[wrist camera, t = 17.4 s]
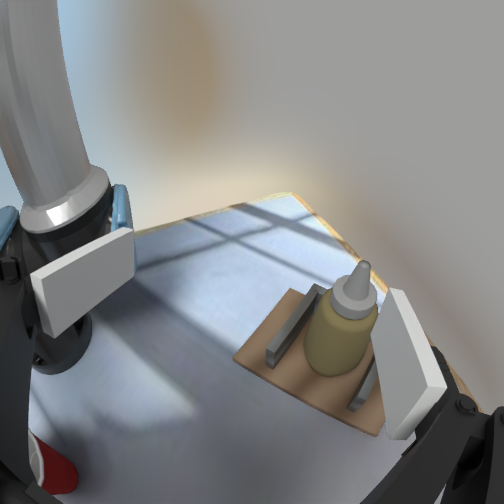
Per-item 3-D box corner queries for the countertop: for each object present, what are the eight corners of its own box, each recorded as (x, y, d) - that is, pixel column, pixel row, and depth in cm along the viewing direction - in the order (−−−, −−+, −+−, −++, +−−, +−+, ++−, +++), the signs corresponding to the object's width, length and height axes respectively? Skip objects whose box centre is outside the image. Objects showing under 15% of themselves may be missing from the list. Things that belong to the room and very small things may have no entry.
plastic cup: (57, 519, 17) (-3, 511, 9) (25, 457, 23) (-31, 430, 15) (110, 495, 22) (55, 485, 14) (72, 430, 28) (19, 398, 20)
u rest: (233, 360, 38) (229, 339, 34) (289, 291, 47) (292, 265, 43) (374, 437, 29) (393, 425, 24) (411, 349, 37) (428, 328, 33)
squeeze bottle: (327, 324, 41) (354, 225, 29) (368, 358, 36) (419, 267, 24) (287, 357, 37) (301, 261, 25) (329, 396, 33) (375, 317, 20)
